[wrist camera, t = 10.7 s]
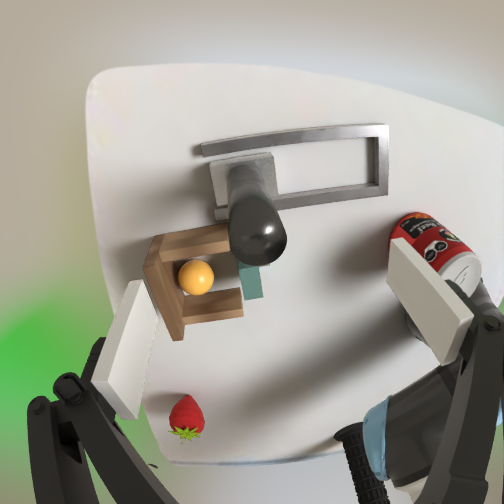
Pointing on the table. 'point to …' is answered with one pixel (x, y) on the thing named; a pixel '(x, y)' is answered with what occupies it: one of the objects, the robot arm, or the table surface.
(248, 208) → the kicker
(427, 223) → the canned food
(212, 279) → the ball
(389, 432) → the robot arm
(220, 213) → the rail
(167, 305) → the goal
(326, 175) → the table surface
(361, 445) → the handle grip
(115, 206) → the table surface
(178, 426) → the strawberry
